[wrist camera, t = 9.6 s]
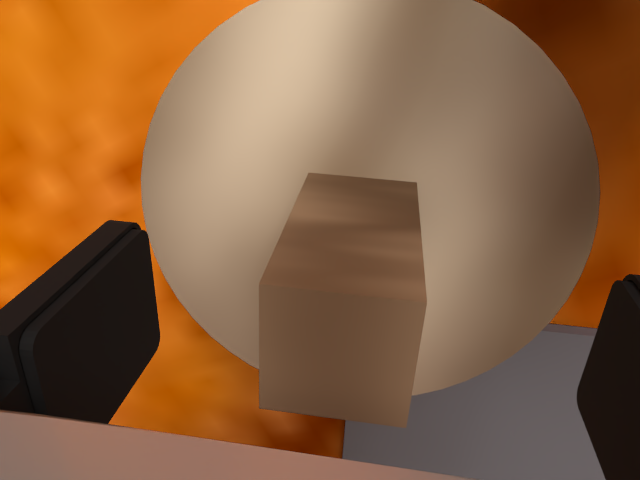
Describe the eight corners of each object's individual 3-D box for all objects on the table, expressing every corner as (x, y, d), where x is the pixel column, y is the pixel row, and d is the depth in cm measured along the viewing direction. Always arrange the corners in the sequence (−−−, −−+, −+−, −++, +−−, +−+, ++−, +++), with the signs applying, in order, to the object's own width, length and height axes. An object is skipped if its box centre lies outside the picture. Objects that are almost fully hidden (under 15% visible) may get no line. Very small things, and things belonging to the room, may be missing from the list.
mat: (689, 338, 22) (696, 347, 22) (619, 498, 27) (623, 509, 26) (355, 303, 24) (354, 310, 23) (342, 461, 28) (341, 470, 28)
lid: (653, -10, 13) (891, 9, 7) (530, 400, 19) (595, 613, 13) (132, -39, 14) (-77, -46, 8) (171, 354, 20) (68, 528, 14)
